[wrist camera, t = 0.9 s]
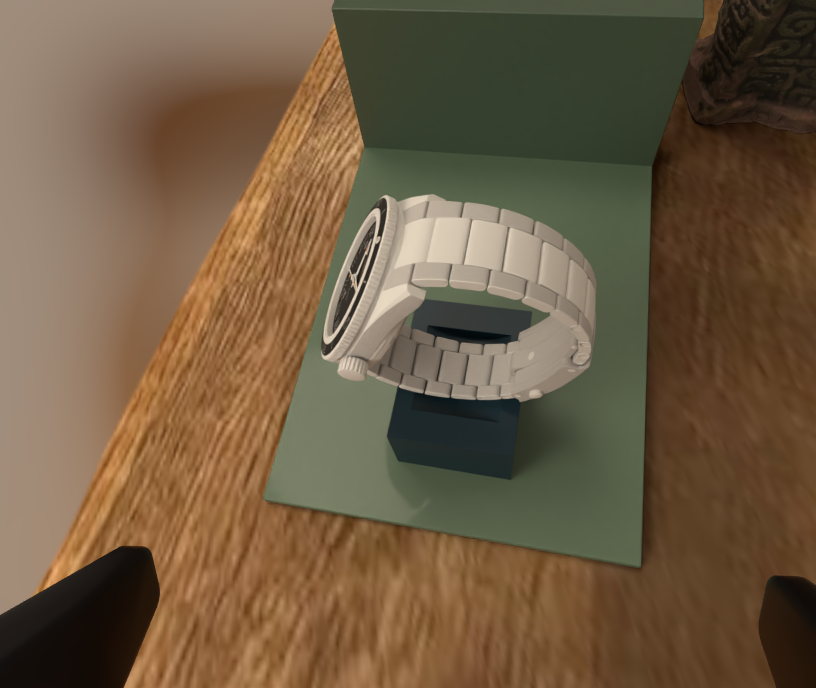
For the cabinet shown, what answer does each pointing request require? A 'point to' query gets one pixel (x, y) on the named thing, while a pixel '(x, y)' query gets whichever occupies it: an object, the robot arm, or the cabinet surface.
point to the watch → (459, 325)
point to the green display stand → (527, 195)
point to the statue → (756, 66)
